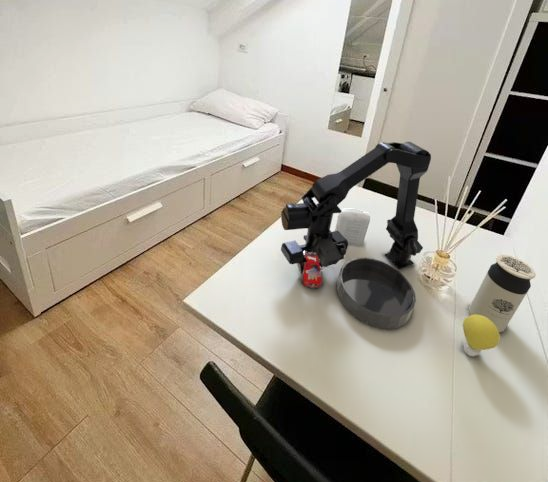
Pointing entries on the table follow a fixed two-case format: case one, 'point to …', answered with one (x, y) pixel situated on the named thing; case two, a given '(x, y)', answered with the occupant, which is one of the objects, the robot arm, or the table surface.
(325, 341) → the table surface
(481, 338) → the light bulb
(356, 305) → the pan
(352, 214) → the white ribbed slab
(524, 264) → the white canister
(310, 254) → the race car
